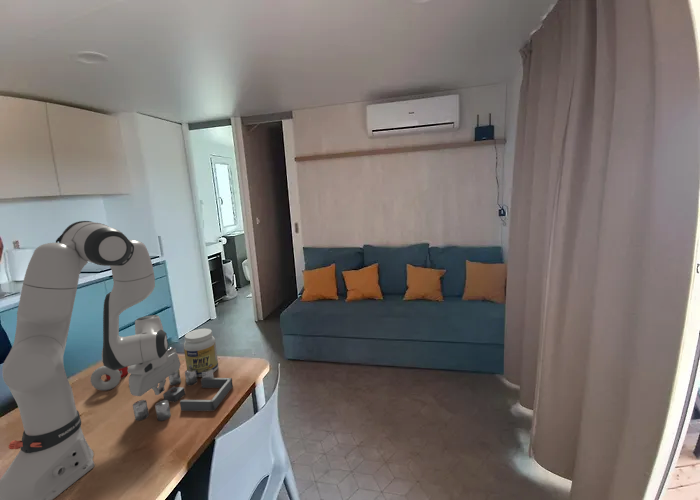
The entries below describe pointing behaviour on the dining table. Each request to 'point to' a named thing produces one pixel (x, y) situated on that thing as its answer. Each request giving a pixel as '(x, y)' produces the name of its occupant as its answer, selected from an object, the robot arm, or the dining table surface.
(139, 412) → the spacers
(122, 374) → the canned food
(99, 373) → the donut
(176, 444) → the dining table surface
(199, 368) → the supplement tub
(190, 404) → the tray
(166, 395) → the grey square block
